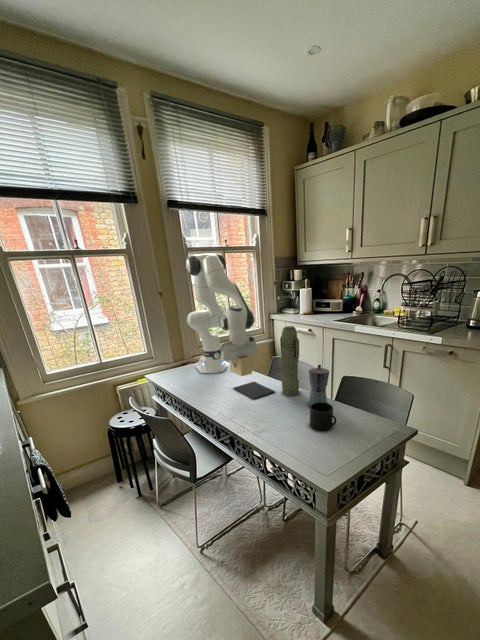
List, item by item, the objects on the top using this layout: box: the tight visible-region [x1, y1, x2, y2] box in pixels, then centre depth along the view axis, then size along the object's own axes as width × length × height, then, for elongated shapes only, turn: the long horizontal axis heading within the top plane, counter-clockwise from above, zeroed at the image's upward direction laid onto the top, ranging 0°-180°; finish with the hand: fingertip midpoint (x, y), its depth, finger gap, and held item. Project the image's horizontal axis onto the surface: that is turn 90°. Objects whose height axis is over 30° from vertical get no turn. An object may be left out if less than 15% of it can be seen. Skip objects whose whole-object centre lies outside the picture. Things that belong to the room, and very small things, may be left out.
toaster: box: [228, 355, 253, 377], centre depth 166 cm, size 13×6×9 cm, turn 36°
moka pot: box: [308, 364, 330, 406], centre depth 150 cm, size 10×15×20 cm, turn 174°
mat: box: [233, 381, 276, 401], centre depth 174 cm, size 20×14×1 cm
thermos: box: [279, 325, 300, 397], centre depth 162 cm, size 9×12×35 cm
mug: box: [309, 402, 338, 432], centre depth 132 cm, size 9×12×9 cm
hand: (240, 365), depth 166 cm, fingers closed on toaster, 6 cm apart
